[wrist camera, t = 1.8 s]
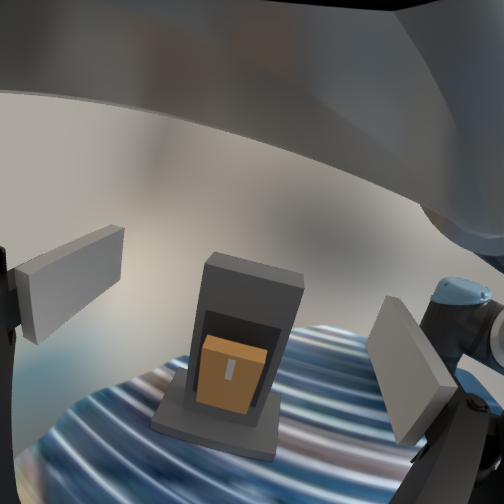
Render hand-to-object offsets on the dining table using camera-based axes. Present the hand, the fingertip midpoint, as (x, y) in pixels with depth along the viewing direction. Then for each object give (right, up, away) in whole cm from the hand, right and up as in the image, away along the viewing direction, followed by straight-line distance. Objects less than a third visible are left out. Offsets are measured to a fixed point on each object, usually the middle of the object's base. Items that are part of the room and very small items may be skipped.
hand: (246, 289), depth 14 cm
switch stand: (-4, -21, +25) cm, 33 cm away
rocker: (-3, -16, +20) cm, 26 cm away
